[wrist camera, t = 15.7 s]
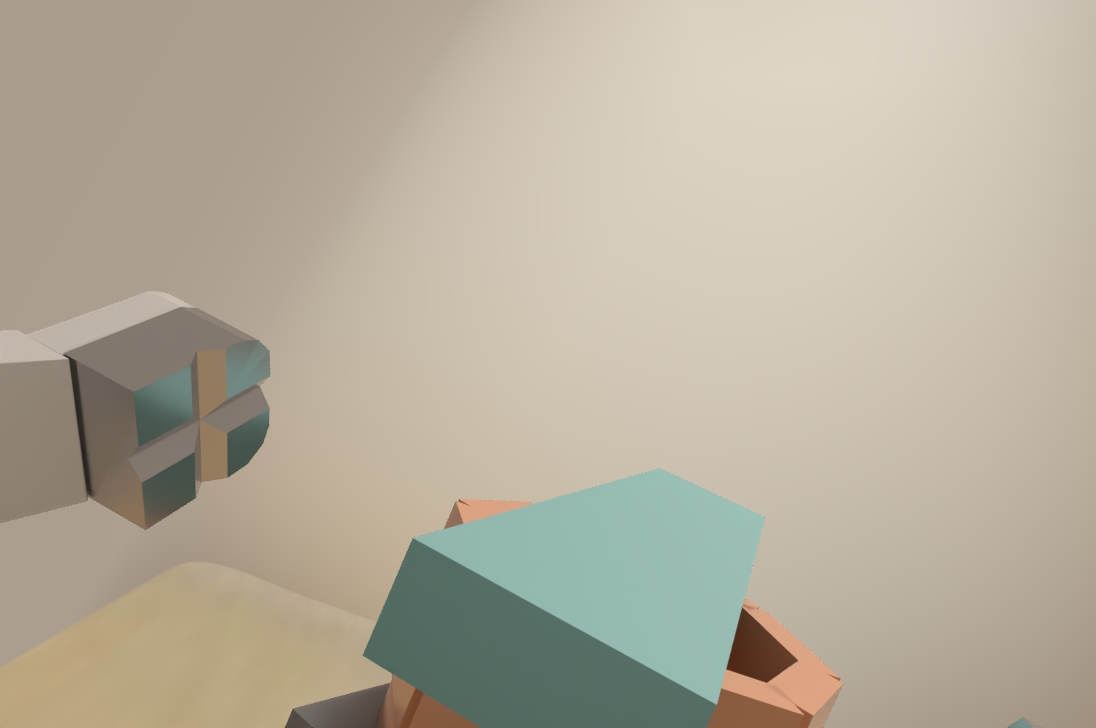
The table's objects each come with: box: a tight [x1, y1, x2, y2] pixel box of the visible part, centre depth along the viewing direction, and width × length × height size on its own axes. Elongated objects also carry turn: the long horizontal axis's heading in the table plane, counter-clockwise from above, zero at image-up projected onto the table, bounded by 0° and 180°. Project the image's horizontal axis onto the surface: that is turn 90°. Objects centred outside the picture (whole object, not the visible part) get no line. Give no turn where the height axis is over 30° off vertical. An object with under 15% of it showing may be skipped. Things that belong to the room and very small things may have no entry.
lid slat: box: [363, 468, 765, 728], centre depth 19 cm, size 20×4×2 cm, turn 162°
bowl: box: [376, 499, 843, 728], centre depth 19 cm, size 9×9×5 cm
